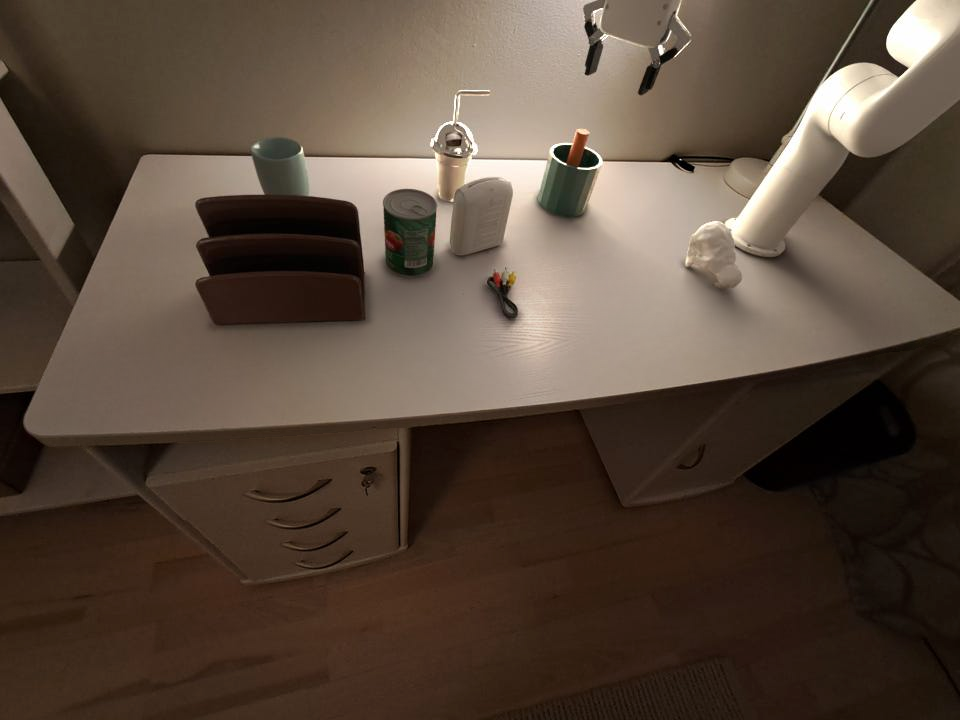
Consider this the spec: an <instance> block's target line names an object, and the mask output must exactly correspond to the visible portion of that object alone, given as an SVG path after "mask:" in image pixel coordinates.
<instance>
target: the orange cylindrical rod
mask: <svg viewBox="0 0 960 720" xmlns="http://www.w3.org/2000/svg"><path fill="white" fill-rule="evenodd" d="M589 135H590V132H589V130H587V129H585V128H576V130H575V134H574V137H573V141H572V143H571V144H572V147H571V150H570V154H569V157H568V160H567V164H568V165H570V166H574V167H579V164H580V161H581V157H582V154H583V151H584V148H585V147H586V144H587V141H588V138H589Z"/></svg>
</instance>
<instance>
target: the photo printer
mask: <svg viewBox="0 0 960 720" xmlns="http://www.w3.org/2000/svg"><path fill="white" fill-rule="evenodd" d="M513 197H514V188H513V185H512V181H509V180H508V178H506V177H505V178H504V177H502V176H487V177H481V178H477V179H474V180H470V181H469V182H465V183H464V185H462V186H461V187H459V188H458V189H457V190H456V191H455V194H454V202H453V203H452V213H451V222H450V233H449V245H450V251H451V252H452V253H453V254H455V255H457V256H466V255H470V254H473V253H477V252H482V251H485V250H488V249H491V248H494V247H495V248H496V247H497V246H500V245H502V244H503V242H504V238H505V234H506V228H507V224H508V219H509V214H510V211H511V205H512V201H513Z"/></svg>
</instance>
